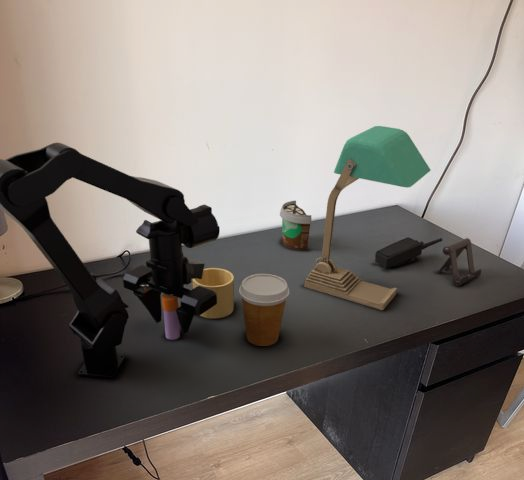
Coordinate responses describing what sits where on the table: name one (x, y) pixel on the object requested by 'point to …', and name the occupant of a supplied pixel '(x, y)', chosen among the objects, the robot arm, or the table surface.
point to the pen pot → (218, 291)
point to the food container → (295, 226)
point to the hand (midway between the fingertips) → (172, 327)
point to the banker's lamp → (374, 169)
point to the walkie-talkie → (401, 252)
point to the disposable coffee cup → (263, 307)
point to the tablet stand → (454, 252)
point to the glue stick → (170, 316)
